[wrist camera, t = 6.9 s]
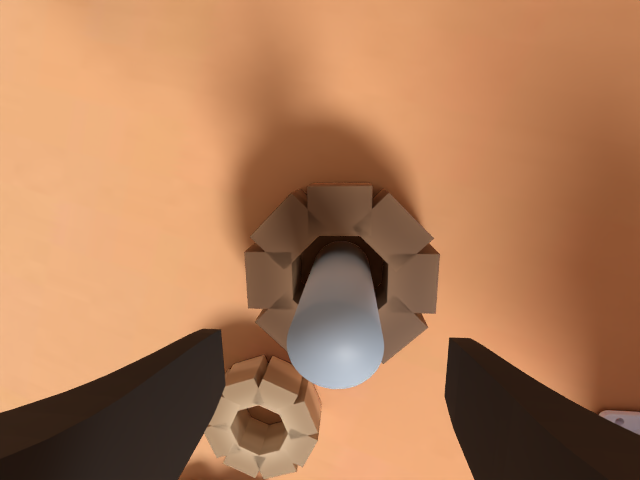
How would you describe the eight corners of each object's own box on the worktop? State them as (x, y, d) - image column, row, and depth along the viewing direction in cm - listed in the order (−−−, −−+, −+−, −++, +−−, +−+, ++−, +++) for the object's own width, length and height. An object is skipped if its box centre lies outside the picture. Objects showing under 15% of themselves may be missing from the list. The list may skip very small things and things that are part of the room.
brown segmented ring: (430, 182, 19) (444, 185, 16) (420, 342, 21) (431, 371, 18) (256, 183, 20) (240, 186, 17) (265, 337, 22) (251, 363, 19)
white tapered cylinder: (368, 239, 20) (382, 299, 11) (370, 293, 20) (385, 388, 12) (311, 242, 20) (281, 302, 11) (316, 294, 21) (291, 389, 12)
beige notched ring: (296, 345, 22) (289, 367, 19) (333, 432, 23) (331, 463, 21) (203, 373, 23) (186, 397, 20) (243, 454, 24) (231, 486, 22)
